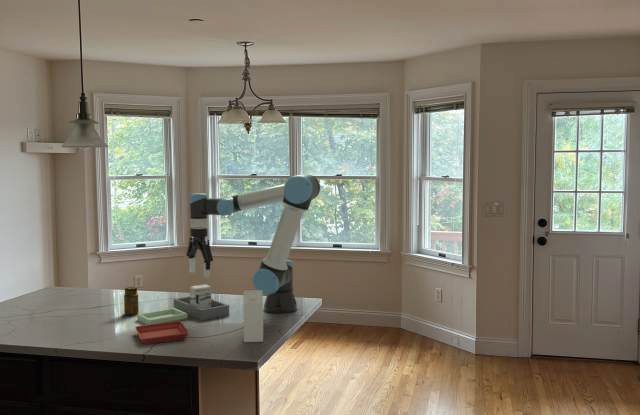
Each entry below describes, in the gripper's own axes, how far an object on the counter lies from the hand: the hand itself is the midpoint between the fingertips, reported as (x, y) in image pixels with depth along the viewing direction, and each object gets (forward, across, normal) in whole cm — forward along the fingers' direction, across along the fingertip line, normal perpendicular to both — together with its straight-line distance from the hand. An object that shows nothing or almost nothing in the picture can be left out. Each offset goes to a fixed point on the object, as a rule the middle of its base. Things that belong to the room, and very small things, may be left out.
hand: (199, 274), depth 268 cm
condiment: (+18, -16, -26) cm, 35 cm away
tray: (+17, +1, -19) cm, 26 cm away
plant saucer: (+18, +24, -30) cm, 42 cm away
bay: (+17, 0, 0) cm, 17 cm away
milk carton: (+17, +51, -5) cm, 54 cm away
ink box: (+17, 0, 0) cm, 17 cm away
